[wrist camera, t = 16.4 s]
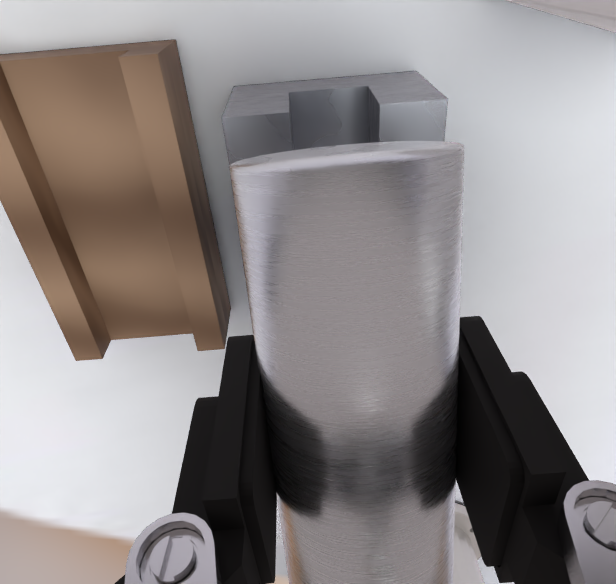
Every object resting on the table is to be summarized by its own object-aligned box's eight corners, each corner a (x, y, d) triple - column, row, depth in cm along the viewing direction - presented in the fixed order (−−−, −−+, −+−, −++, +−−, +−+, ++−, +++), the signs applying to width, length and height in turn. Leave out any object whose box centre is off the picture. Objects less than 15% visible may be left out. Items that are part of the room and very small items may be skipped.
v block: (403, 321, 29) (422, 381, 25) (270, 332, 29) (268, 393, 25) (416, 70, 21) (447, 98, 17) (233, 86, 21) (221, 118, 17)
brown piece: (230, 308, 28) (224, 348, 25) (97, 319, 28) (76, 360, 25) (175, 39, 20) (157, 53, 17) (-11, 55, 20) (-60, 72, 17)
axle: (427, 598, 15) (472, 756, 12) (302, 610, 15) (305, 771, 12) (427, 136, 10) (505, 153, 7) (241, 154, 10) (212, 180, 7)
